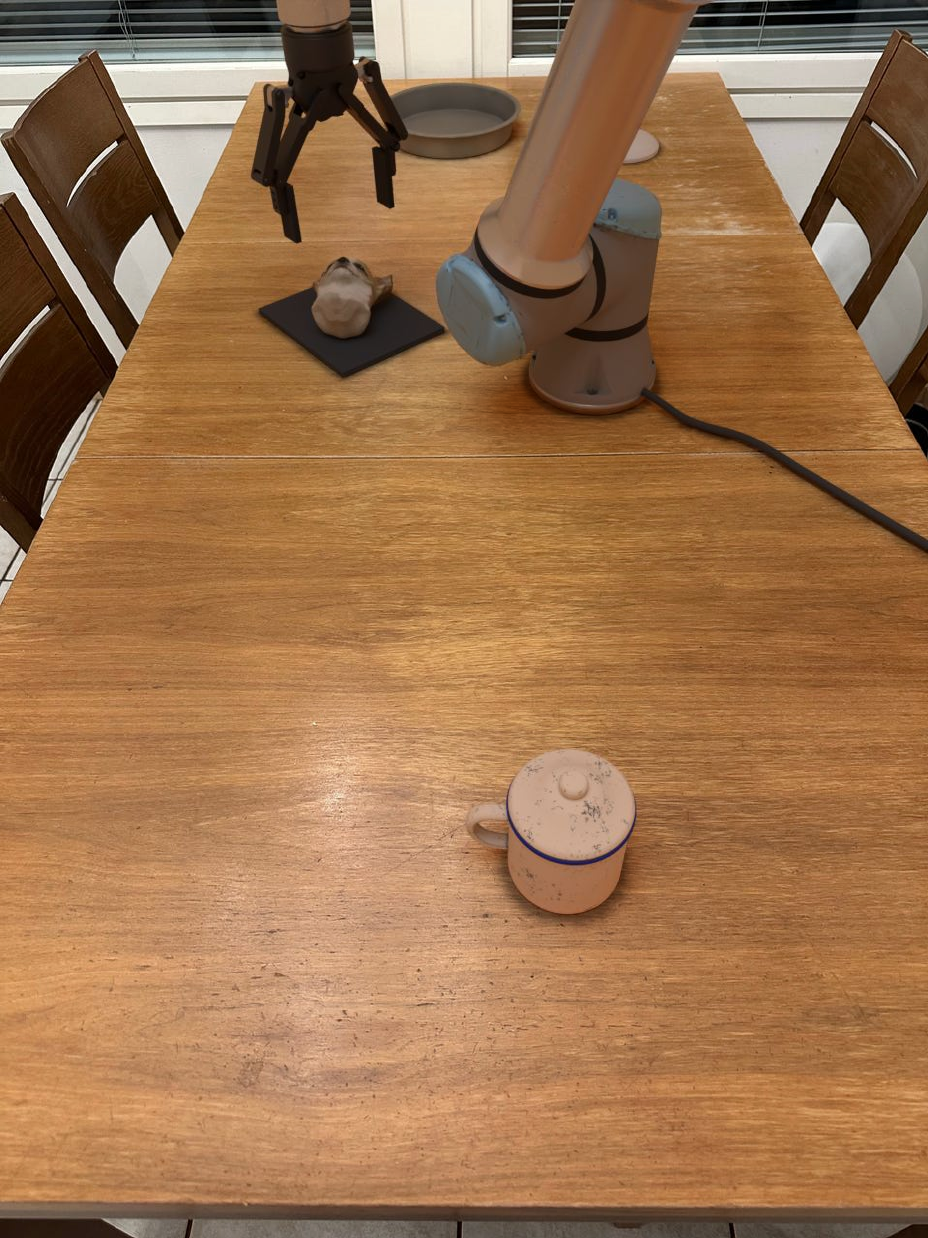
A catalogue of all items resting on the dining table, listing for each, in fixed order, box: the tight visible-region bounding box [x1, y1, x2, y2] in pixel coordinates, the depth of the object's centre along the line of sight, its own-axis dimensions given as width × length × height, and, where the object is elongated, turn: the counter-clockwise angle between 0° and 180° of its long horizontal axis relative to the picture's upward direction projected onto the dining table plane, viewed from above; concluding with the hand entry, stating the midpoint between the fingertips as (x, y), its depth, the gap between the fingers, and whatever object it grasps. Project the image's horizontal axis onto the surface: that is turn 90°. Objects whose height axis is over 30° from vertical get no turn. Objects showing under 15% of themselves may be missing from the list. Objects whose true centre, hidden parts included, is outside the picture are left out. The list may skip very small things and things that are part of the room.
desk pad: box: [258, 286, 445, 379], centre depth 125 cm, size 20×16×1 cm
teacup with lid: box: [465, 748, 637, 915], centre depth 68 cm, size 12×9×12 cm
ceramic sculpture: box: [311, 256, 394, 338], centre depth 121 cm, size 11×9×15 cm
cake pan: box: [379, 82, 522, 159], centre depth 165 cm, size 25×25×4 cm
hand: (340, 221), depth 115 cm, fingers open, 13 cm apart
